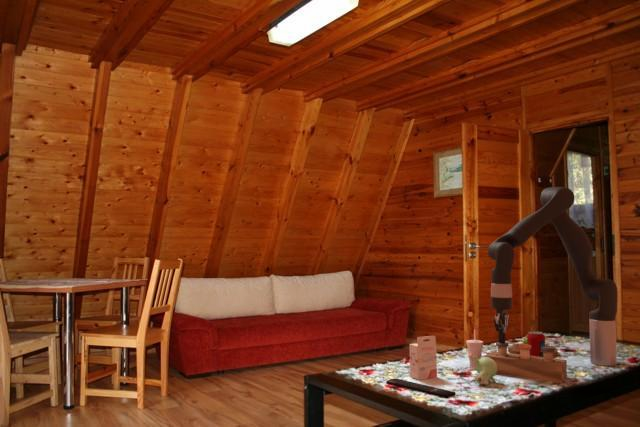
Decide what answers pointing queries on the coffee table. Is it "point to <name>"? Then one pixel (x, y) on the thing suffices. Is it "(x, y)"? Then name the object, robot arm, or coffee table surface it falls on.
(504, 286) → the robot arm
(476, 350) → the smoothie
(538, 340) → the beverage can
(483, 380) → the frog
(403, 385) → the remote control
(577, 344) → the coffee table surface
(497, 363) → the oak block
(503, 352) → the plunger
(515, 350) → the plant
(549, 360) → the plunger
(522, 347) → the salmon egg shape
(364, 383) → the coffee table surface
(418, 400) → the coffee table surface
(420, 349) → the ink cartridge box
